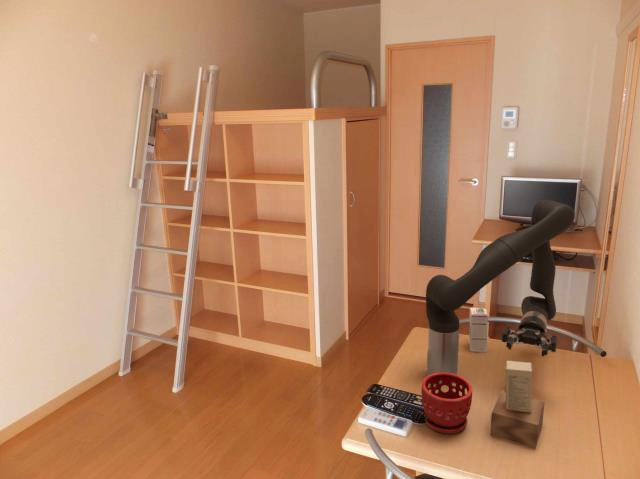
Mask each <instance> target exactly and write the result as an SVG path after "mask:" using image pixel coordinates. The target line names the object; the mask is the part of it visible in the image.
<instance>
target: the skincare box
mask: <svg viewBox="0 0 640 479" xmlns="http://www.w3.org/2000/svg"><path fill="white" fill-rule="evenodd" d="M505 392H506V410H513V411H521V412H530V413H531V404H532V399H533V364H532V362H527V361H517V360H516V361H515V360H506V363H505Z"/></svg>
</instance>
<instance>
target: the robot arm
mask: <svg viewBox="0 0 640 479" xmlns="http://www.w3.org/2000/svg"><path fill="white" fill-rule="evenodd" d="M575 218H576V213H575V210H574V209H573V207H571V206H570V205H569V204H565V203H562V202H558V201H555V200H549V199H541V200H539V201H537V203H536V204H535V205H534V206H533V208H532V212H531V218H530V220H531V221H530V222H531V225H530V226H529V227H527V228H526V227H525V228H524V229H521V230H517V231H514V232H513V231H512V232H510V233H507V234H504V235H501V236H499V237H498V238H496V239H495V240H493V241H492V242H491V243H489V244H488V245H486V246H485V247H484V248H483V249H482V250H481V251H480V253H479V254H478V256H477V258H476V260H475V262H474V264H473V265H472V267H471V268H470V269H469V270H468V271H467V272H465V273H464V274H463V275H461V276H460V277H458V278H456V279H455V280H454V279H453V278H451V277H450V276H447V275H444V274H437V275H435V276H433V277H432V278H431V279H430V280H429V282H428V283H427V284H426V285H427V286H426V288H425V289H426V290H425V311H426V312H425V313H426V319H427V321H428V341H427V342H428V345H427V351H426V377H427V376H428V375H431V374H434V373H442V372H444V373H452V374H455V375H458V376H459V374H458V373H459V370H458V369H459V350H460V349H459V346H460V345H459V343H460V319H459V317H458V315H457V313H456V310H458V309H460V308H461V307H462V306H464V305H465V304H466V303H467V302H468V301H469V300H470V299H472V298H473V297H474V296H475V295H476V294H477V293H479V291H480V290H482V289H483V288H484V287H486V286H487V285H488V284H489V283H490V282H492V281H493V280H495V279H496V278H497V277H499V276H500V275H501V274H503V273H504V272H506V271H507V270H509V269H510V268H512V267H513V266H514V265H515V264H517V263H518V262H520V261H521V260H522V259H523V258H525V257H526V256H527V255H529V254H530V253H532V263H531V265H532V266H531V273H530V282H529V289H530V290H531V291H533V292H535V293H537V294H540V295H542V296H543V297H544V298H543V297H539V296H532V295H528V296H525V297H524V298H523V299H522V301H521V304H520V307H521V308H520V309H521V312H522V317H521V320H520V321H519V324H518V327H517V329H515V330H514V329H513V330H512V329H511V327H510V326H506V327H505V329H504V330H503V331H502V334H501V342H502V343H506V344H505V348H507V350H509V351H511V350H512V348H513V345H521V344H526V345H527V344H528V345H531V346H532V345H533V346H536V347H537V349H539V350H541V357H545V356H548V354H549V351H550V352H551V353H556V352H557V339H558V335H554V334H553V335H551V336H547V335H546V333H547V331H548V330H547V329H548V321H552V320H553V319H554V318H555V317H556V316H557V315H556V314H557V307H556V300H555V296H554V286H555V279H556V278H555V277H556V263H555V258H554V255H553V251H552V247H551V243H550V241H551V240H552V239H554V238H556V237H557V236H559V235H561V234H563V233H565V232H566V231H567V230H568V229H569V228H570V227H571V226H572V225H573V223H574V221H575ZM439 383H442V381H439ZM453 383H454V382H452V384H453Z"/></svg>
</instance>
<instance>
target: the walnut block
mask: <svg viewBox="0 0 640 479" xmlns="http://www.w3.org/2000/svg"><path fill="white" fill-rule="evenodd" d="M544 412H545V401H541V400H538V399H534V398H532V404H531V413H530V412H521V411H513V410H506V391H500V393H499V395H498V397H497V400H496V402H495V403H494V406H493V409H492V411H491V416H490V417H491V419H490V420H491V421H490V436H493V437H495V438H500V439H503V440H506V441H509V442H512V443H516V444H520V445H523V446H526V447H529V448H532V449H537V448H538V447H537V446H538V443H539V438H540V436H541V431H542V428H543V423H544V422H543V421H544Z"/></svg>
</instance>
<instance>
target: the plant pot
mask: <svg viewBox="0 0 640 479" xmlns="http://www.w3.org/2000/svg"><path fill="white" fill-rule="evenodd" d="M439 381H442V383H439ZM452 382H453V383H454V384H455V385H453V383H452ZM434 385H435V386H434ZM444 386H446V387H447V388H448V390H447V391H444V390H442V387H444ZM436 391H438V392H436ZM460 393H461V395H460ZM466 393H467V394H466ZM472 400H473V386H472V384H471V382H470V381H468V379H466V378H464V377H462V376H461V375H459V374H458V375H455V374H452V373H444V372H442V373H434V374H431V375H428V376H427V375H426V376H425V377H424V378H423V380H422V382H421V404H422V407H423V410H424V411H423V414H425V413H426V415H427V416H428V419H427V420H426V422H425V424H426V425H427V426H428V427H429V428H430V429H432V430H434V431H436V432H439V433H442V434H456V433H458V432H461V431H462V430H464V429H465V428H466V426H467V425H468V417H467V416H468V415H469V414H470V410H471V407H472Z"/></svg>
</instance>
